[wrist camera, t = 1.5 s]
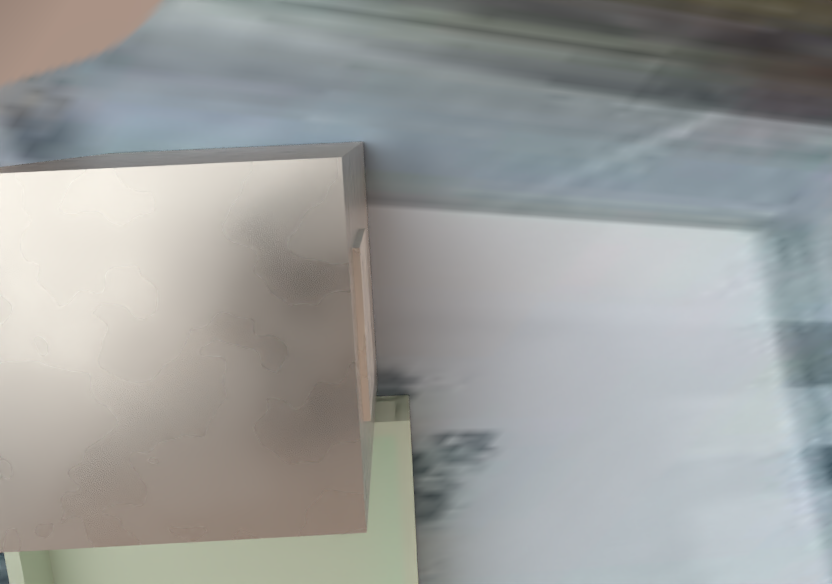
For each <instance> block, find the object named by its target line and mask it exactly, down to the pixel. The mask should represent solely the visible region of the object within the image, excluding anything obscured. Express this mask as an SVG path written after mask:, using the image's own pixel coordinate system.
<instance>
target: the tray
mask: <svg viewBox="0 0 832 584" xmlns="http://www.w3.org/2000/svg"><path fill="white" fill-rule="evenodd" d="M4 556H5V562H6V567H7V572H8V577H9V583H10V584H418V566H417V546H416V526H415V506H414V487H413V467H412V447H411V427H410V407H409V395H397V396H377V397H376V410H375V424H374V438H373V452H372V466H371V480H370V494H369V508H368V521H367V533H353V534H334V535H316V536H298V537H279V538H261V539H243V540H224V541H206V542H188V543H169V544H151V545H133V546H114V547H96V548H78V549H59V550H41V551H22V552H4Z"/></svg>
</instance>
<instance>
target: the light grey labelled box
mask: <svg viewBox="0 0 832 584" xmlns="http://www.w3.org/2000/svg"><path fill="white" fill-rule="evenodd" d="M377 382H378V380H377V363H376V347H375V330H374V313H373V297H372V280H371V264H370V247H369V230H368V214H367V197H366V180H365V164H364V147H363V142H342V143H321V144H300V145H278V146H257V147H236V148H214V149H193V150H172V151H151V152H129V153H109V154H101V155H93V156H85V157H77V158H69V159H61V160H53V161H45V162H37V163H29V164H21V165H13V166H5V167H0V553H4V552H22V551H41V550H59V549H78V548H96V547H114V546H133V545H151V544H169V543H188V542H206V541H224V540H243V539H261V538H279V537H298V536H316V535H334V534H353V533H367V521H368V508H369V494H370V480H371V466H372V452H373V438H374V424H375V410H376V396H377Z"/></svg>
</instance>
